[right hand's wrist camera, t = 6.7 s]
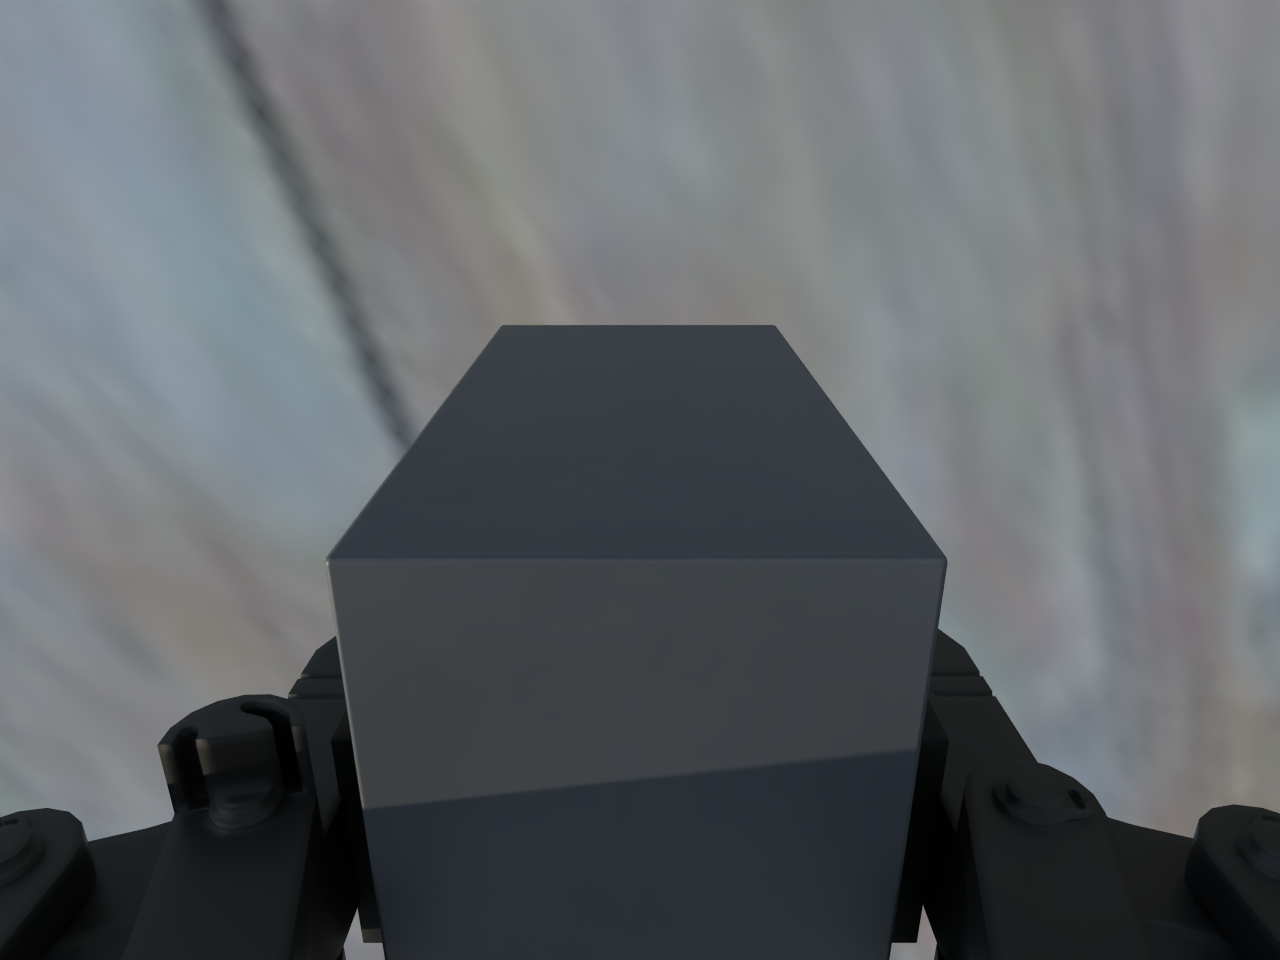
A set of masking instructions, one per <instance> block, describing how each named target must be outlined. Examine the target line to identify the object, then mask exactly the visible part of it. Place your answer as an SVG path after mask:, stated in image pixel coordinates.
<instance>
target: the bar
mask: <svg viewBox="0 0 1280 960" xmlns="http://www.w3.org/2000/svg"><path fill="white" fill-rule="evenodd" d="M325 565H326V572H327V579H328V585H329V592H330V598H331V605H332V612H333V618H334V625H335V631H336V638H337V645H338V651H339V658H340V665H341V671H342V678H343V684H344V691H345V698H346V704H347V711H348V718H349V724H350V731H351V737H352V744H353V751H354V757H355V764H356V771H357V777H358V784H359V790H360V797H361V804H362V810H363V817H364V823H365V830H366V837H367V843H368V850H369V857H370V863H371V870H372V876H373V883H374V890H375V896H376V903H377V910H378V916H379V923H380V929H381V936H382V943H383V949H384V956H385V960H889V958H890V951H891V944H892V937H893V930H894V924H895V917H896V910H897V903H898V896H899V889H900V883H901V876H902V869H903V862H904V855H905V849H906V842H907V835H908V828H909V821H910V814H911V808H912V801H913V794H914V787H915V780H916V774H917V767H918V760H919V753H920V746H921V739H922V733H923V726H924V719H925V712H926V705H927V699H928V692H929V685H930V678H931V671H932V664H933V658H934V651H935V644H936V637H937V630H938V623H939V617H940V610H941V603H942V596H943V589H944V583H945V576H946V569H947V559H946V556H945V555H944V554H943V552H942V551H941V550H940V548H939V547H938V546H937V544H936V543H935V542H934V540H933V539H932V537H931V536H930V535H929V533H928V532H927V531H926V529H925V528H924V527H923V525H922V524H921V523H920V521H919V520H918V518H917V517H916V516H915V514H914V513H913V512H912V510H911V509H910V508H909V506H908V505H907V504H906V502H905V501H904V500H903V498H902V497H901V495H900V494H899V493H898V491H897V490H896V489H895V487H894V486H893V485H892V483H891V482H890V481H889V479H888V478H887V476H886V475H885V474H884V472H883V471H882V470H881V468H880V467H879V466H878V464H877V463H876V462H875V460H874V459H873V458H872V456H871V455H870V453H869V452H868V451H867V449H866V448H865V447H864V445H863V444H862V443H861V441H860V440H859V439H858V437H857V436H856V434H855V433H854V432H853V430H852V429H851V428H850V426H849V425H848V424H847V422H846V421H845V420H844V418H843V417H842V416H841V414H840V413H839V411H838V410H837V409H836V407H835V406H834V405H833V403H832V402H831V401H830V399H829V398H828V397H827V395H826V394H825V392H824V391H823V390H822V388H821V387H820V386H819V384H818V383H817V382H816V380H815V379H814V378H813V376H812V375H811V374H810V372H809V371H808V369H807V368H806V367H805V365H804V364H803V363H802V361H801V360H800V359H799V357H798V356H797V355H796V353H795V352H794V350H793V349H792V348H791V346H790V345H789V344H788V342H787V341H786V340H785V338H784V337H783V336H782V334H781V333H780V331H779V330H778V329H777V327H776V326H774V325H503V326H501V327H500V328H499V330H498V331H497V332H496V334H495V335H494V336H493V338H492V339H491V340H490V342H489V343H488V344H487V346H486V347H485V348H484V350H483V351H482V352H481V353H480V355H479V356H478V357H477V359H476V360H475V361H474V363H473V364H472V365H471V367H470V368H469V369H468V371H467V372H466V373H465V375H464V376H463V377H462V379H461V380H460V381H459V383H458V384H457V385H456V387H455V388H454V389H453V391H452V392H451V393H450V395H449V396H448V397H447V398H446V400H445V401H444V402H443V404H442V405H441V406H440V408H439V409H438V410H437V412H436V413H435V414H434V416H433V417H432V418H431V420H430V421H429V422H428V424H427V425H426V426H425V428H424V429H423V430H422V432H421V433H420V434H419V436H418V437H417V438H416V440H415V441H414V442H413V444H412V445H411V446H410V447H409V449H408V450H407V451H406V453H405V454H404V455H403V457H402V458H401V459H400V461H399V462H398V463H397V465H396V466H395V467H394V469H393V470H392V471H391V473H390V474H389V475H388V477H387V478H386V479H385V481H384V482H383V483H382V485H381V486H380V487H379V489H378V490H377V491H376V492H375V494H374V495H373V496H372V498H371V499H370V500H369V502H368V503H367V504H366V506H365V507H364V508H363V510H362V511H361V512H360V514H359V515H358V516H357V518H356V519H355V520H354V522H353V523H352V524H351V526H350V527H349V528H348V530H347V531H346V532H345V534H344V535H343V536H342V538H341V539H340V540H339V541H338V543H337V544H336V545H335V547H334V548H333V549H332V551H331V552H330V553H329V555H328V556H327V558H326V561H325Z"/></svg>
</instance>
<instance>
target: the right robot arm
mask: <svg viewBox="0 0 1280 960" xmlns="http://www.w3.org/2000/svg"><path fill="white" fill-rule="evenodd" d="M157 746H158V750H159V754H160V758H161V762H162V766H163V769H164V773H165V777H166V781H167V785H168V789H169V793H170V797H171V801H172V805H173V809H174V813H175V814H174V817H173V820H172V821H170V822H167V823H163V824H160V825H157V826H153V827H150V828H146V829H142V830H137V831H133V832H129V833H124V834H120V835H115V836H111V837H107V838H102V839H98V840H93V841H89V842H88V841H87V838H86V835H85V831H84V828H83V825H82V822H80V821H79V820H78V819H77V818H76V817H75V816H73V815H72V814H71V813H70V812H67V811H61V810H56V809H50V808H43V809H35V810H27V811H19V812H16V813H13V814H10V815H6V816H3V817H0V960H346V957H345V952H344V946H343V945H344V943H345V940H346V937H347V935H348V932H349V929H350V926H351V924H352V921H353V918H354V916H355V913H356V910H357V907H358V912H359V919H360V925H361V931H362V937H363V943H382V936H381V929H380V923H379V916H378V910H377V903H376V896H375V890H374V883H373V876H372V870H371V863H370V857H369V850H368V843H367V837H366V830H365V823H364V817H363V810H362V804H361V797H360V790H359V784H358V777H357V771H356V764H355V757H354V751H353V744H352V737H351V731H350V724H349V718H348V711H347V704H346V698H345V691H344V684H343V678H342V671H341V665H340V658H339V651H338V645H337V638H336V636H335V637H334V638H332V639H331V640H330V641H328V642H327V643H326V644H324V645H323V646H321V647H320V648H319V649H317V650H316V651H315V653H314V655H313V656H312V658H311V659H310V661H309V662H308V664H307V666H306V667H305V669H304V670H303V672H302V673H301V679H298V680H297V681H296V683H295V684H294V686H293V688H292V689H291V691H290V692H289V694H288V699H286V698H282V697H278V696H274V695H271V694H265V695H243V696H238V697H234V698H229V699H225V700H221V701H217V702H215V703H212V704H210V705H208V706H206V707H203V708H201V709H199V710H196V711H194V712H192V713H190V714H189V715H188V716H186V717H185V718H183V719H182V720H181V721H179V722H178V723H176V724H175V725H174V726H172V727H171V728H170V729H169V730H168V732H167V733H166V734H165V736H164V737H163V738H162V740H161V741H160V742H159V744H158V745H157ZM922 906H924V909H925V911H926V914H927V917H928V920H929V922H930V925H931V928H932V930H933V933H934V936H935V938H936V941H937V946H936V952H935V957H934V960H1280V814H1279V813H1277V812H1273V811H1270V810H1267V809H1264V808H1258V807H1250V806H1242V805H1228V806H1223V807H1217V808H1212V809H1211V810H1209V811H1208V812H1207V813H1206V814H1205V815H1204V816H1202V817H1201V818H1200V819H1199V822H1198V825H1197V828H1196V831H1195V835H1194V838H1189V837H1184V836H1180V835H1176V834H1171V833H1167V832H1162V831H1158V830H1154V829H1149V828H1145V827H1140V826H1136V825H1132V824H1128V823H1125V822H1122V821H1118V820H1115V819H1112V818H1109V817H1107V816H1106V813H1105V811H1104V810H1103V808H1102V807H1101V805H1100V804H1099V802H1098V800H1097V799H1096V797H1095V796H1094V794H1093V793H1091V792H1090V791H1089V790H1088V789H1086V788H1085V787H1084V786H1083V785H1082V784H1080V783H1079V782H1078V781H1077V780H1075V779H1074V778H1073V777H1071V776H1069V775H1067V774H1065V773H1063V772H1061V771H1059V770H1057V769H1055V768H1053V767H1051V766H1049V765H1045V764H1041V763H1038V762H1037V761H1036V759H1035V757H1034V756H1033V754H1032V753H1031V751H1030V750H1029V748H1028V747H1027V745H1026V743H1025V742H1024V740H1023V739H1022V737H1021V736H1020V734H1019V732H1018V731H1017V729H1016V728H1015V726H1014V725H1013V723H1012V722H1011V720H1010V718H1009V717H1008V715H1007V714H1006V712H1005V711H1004V709H1003V707H1002V706H1001V704H1000V703H999V701H998V700H997V698H996V697H995V696H992V690H991V689H990V687H989V686H988V684H987V682H986V681H985V679H984V678H983V676H980V674H979V670H978V668H977V667H976V665H975V664H974V662H973V661H972V659H971V657H970V656H969V654H968V653H967V651H966V650H965V648H964V647H963V646H961V645H960V644H958V643H957V642H956V641H954V640H953V639H952V638H950V637H949V636H948V635H946V634H945V633H943V632H942V631H941V630H939V629H938V630H937V637H936V644H935V651H934V658H933V664H932V671H931V678H930V685H929V692H928V699H927V705H926V712H925V719H924V726H923V733H922V739H921V746H920V753H919V760H918V767H917V774H916V780H915V787H914V794H913V801H912V808H911V814H910V821H909V828H908V835H907V842H906V849H905V855H904V862H903V869H902V876H901V883H900V889H899V896H898V903H897V910H896V917H895V924H894V930H893V937H892V943H917V937H918V931H919V925H920V919H921V912H922Z"/></svg>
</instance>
